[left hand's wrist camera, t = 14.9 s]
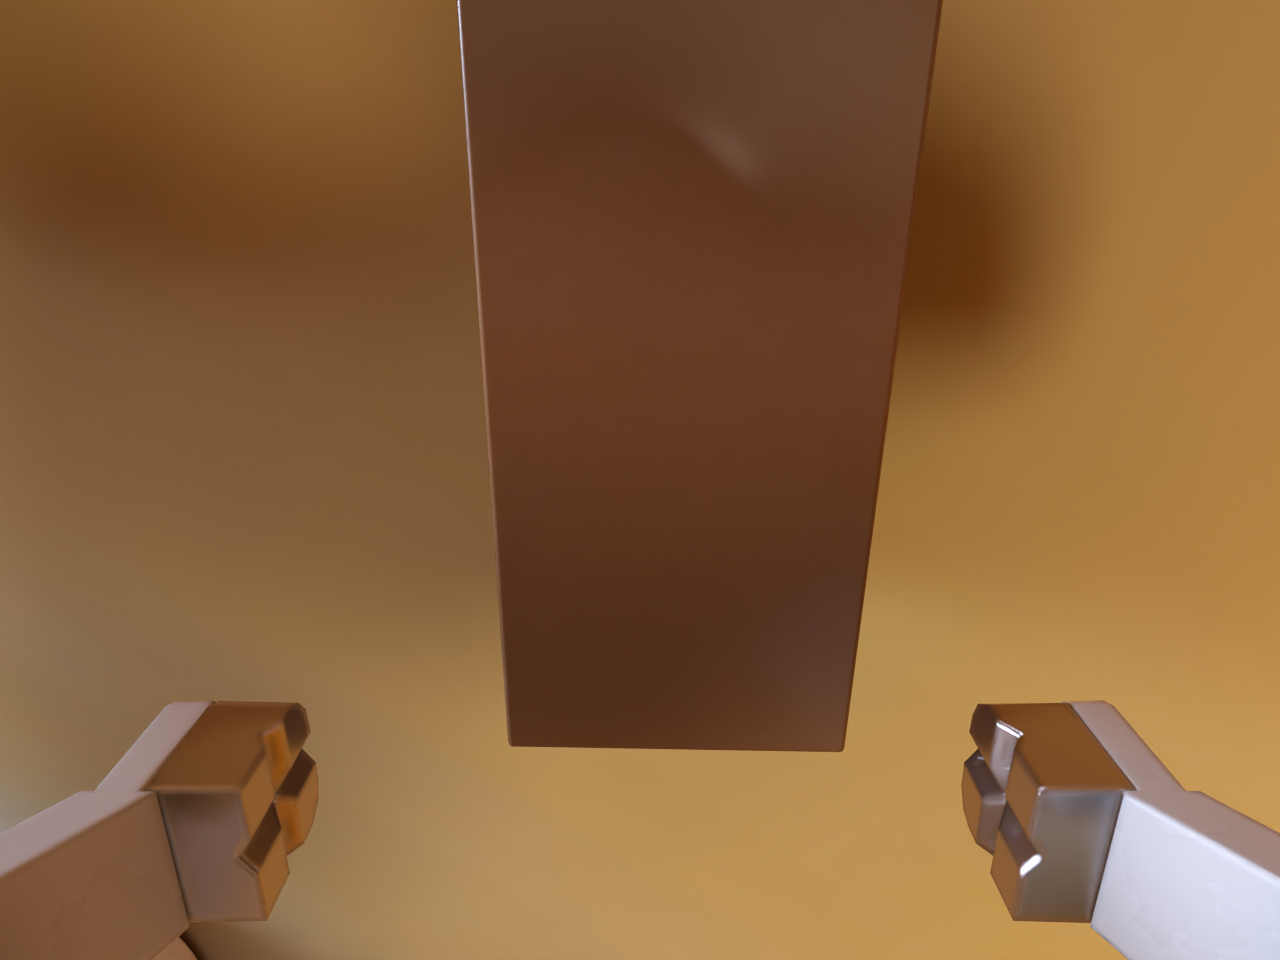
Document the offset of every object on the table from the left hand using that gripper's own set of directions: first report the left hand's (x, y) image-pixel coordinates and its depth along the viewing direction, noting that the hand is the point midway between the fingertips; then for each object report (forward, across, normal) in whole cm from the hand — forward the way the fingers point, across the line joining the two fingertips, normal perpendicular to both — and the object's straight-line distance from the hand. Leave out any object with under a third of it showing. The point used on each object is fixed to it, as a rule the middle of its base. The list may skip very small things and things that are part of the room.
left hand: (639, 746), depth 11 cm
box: (+14, +1, +10) cm, 17 cm away
